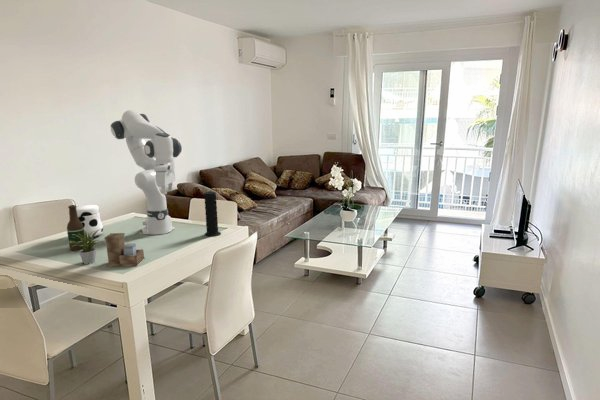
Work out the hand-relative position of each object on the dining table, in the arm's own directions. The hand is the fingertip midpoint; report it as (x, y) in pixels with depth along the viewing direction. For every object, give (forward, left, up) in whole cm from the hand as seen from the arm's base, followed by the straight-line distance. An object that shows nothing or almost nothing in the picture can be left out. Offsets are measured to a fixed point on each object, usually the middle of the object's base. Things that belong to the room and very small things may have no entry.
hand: (167, 192), depth 196 cm
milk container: (-57, -31, -31) cm, 72 cm away
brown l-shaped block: (+3, -24, -31) cm, 40 cm away
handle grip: (-13, +29, -31) cm, 45 cm away
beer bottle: (-36, -39, -31) cm, 62 cm away
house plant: (-10, -37, -31) cm, 50 cm away
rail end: (+5, -22, -30) cm, 38 cm away
